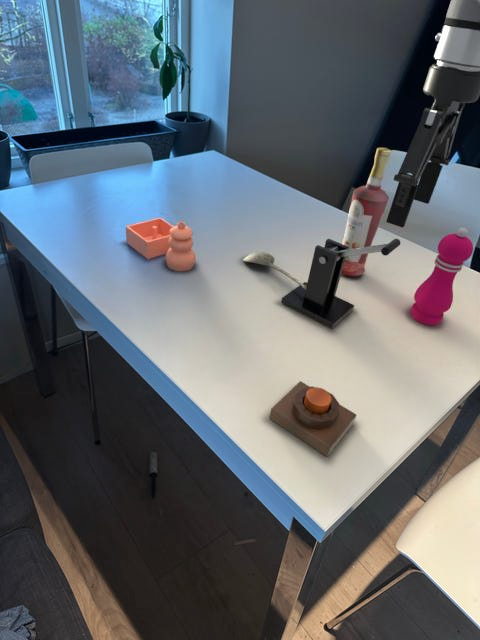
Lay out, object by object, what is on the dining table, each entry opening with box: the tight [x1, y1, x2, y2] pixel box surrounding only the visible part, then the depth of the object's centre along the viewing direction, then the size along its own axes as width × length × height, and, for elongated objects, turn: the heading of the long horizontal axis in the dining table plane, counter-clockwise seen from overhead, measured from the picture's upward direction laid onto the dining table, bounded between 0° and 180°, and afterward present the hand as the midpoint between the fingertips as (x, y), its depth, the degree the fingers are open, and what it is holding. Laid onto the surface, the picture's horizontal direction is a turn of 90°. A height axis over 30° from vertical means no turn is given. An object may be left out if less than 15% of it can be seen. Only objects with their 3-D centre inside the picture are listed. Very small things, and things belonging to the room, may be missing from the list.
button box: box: [269, 381, 357, 457], centre depth 66 cm, size 10×8×4 cm
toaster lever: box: [326, 238, 401, 261], centre depth 80 cm, size 14×5×2 cm, turn 51°
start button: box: [304, 387, 331, 414], centre depth 64 cm, size 4×4×2 cm
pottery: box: [125, 217, 196, 272], centre depth 100 cm, size 18×10×10 cm, turn 42°
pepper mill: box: [409, 227, 474, 326], centre depth 87 cm, size 7×7×20 cm
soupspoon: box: [242, 251, 306, 291], centre depth 97 cm, size 22×3×7 cm
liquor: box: [341, 147, 392, 278], centre depth 96 cm, size 7×7×28 cm
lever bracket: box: [280, 238, 355, 330], centre depth 87 cm, size 12×9×14 cm
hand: (408, 212), depth 74 cm, fingers open, 13 cm apart
